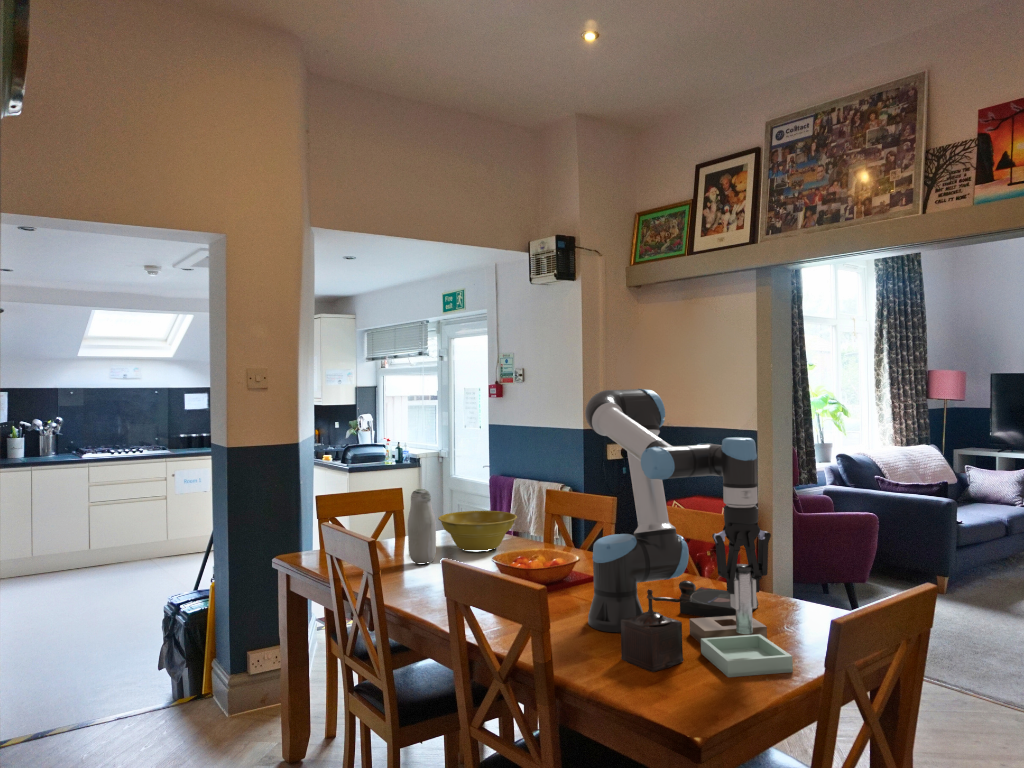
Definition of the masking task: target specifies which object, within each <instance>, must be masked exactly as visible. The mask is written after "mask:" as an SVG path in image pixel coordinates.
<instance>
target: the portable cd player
mask: <svg viewBox="0 0 1024 768" xmlns="http://www.w3.org/2000/svg"><path fill="white" fill-rule="evenodd" d="M691 600H692V601H691V602H689V601H687V602H685V603H684V602H679V613H680V614H683V615H684V614H685V615H689V616H690V615H691V616H696V617H700V618H707V617H721V616H736V609H734V608H733V607H731V597H730V594H729V593H728V592H727V590H724V589H717V588H709V587H703V586H702V587H701V586H700V587H699V588H696V590H695V592H694V593H693V594H692V595H691ZM756 601H757V608H758V607H759V605H760V604H759V600H758V596H757V595H756ZM757 608H752V612H754V610H756V609H757Z"/></svg>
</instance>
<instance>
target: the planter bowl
mask: <svg viewBox="0 0 1024 768" xmlns="http://www.w3.org/2000/svg"><path fill="white" fill-rule="evenodd" d="M517 519H518V516H517V514H514V513H511V512H506V511H498V510H465V511H456V512H455V511H454V512H449V513H445V514H442V515H440V516H438V521H440V522H441V525H442V527H443V529H444V531H445V532H447V533H449V534H450V537H451V539H452V540H453V542H454V544H455V545H456V547H457V548H458V549H460V550H461V549H464V550H488V549H494V548H496V549H497V548H499V546H500V545H502V541H504V538H505V535H506V533H507V532H509V531H511V529H512V527H513V525H514V523H515V520H517Z"/></svg>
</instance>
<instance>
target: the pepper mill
mask: <svg viewBox="0 0 1024 768" xmlns="http://www.w3.org/2000/svg"><path fill="white" fill-rule="evenodd" d="M678 588H679V590H680V593H681V594H680V596H679V598H675V597H674V598H673V597H668V596H667V597H666V596H665V597H664V596H658V597H656V596H653V590H652V589H650V588H649V589H647V591H646V593H647V595H646V599H647V600H648V609H647V611H643V613H642V614H640V615H638V616H634V617H630V618H627V619H623V620H621V632H620V645H621V647H620V651H621V652H620V653H621V654H620V655H621V657H620V659H621V660H622V661H623V662H626V663H628V664H631V665H633V666H636V667H637V668H640V669H643V670H645V671H648V672H651V673H655V672H657V671H663V670H665V669H668V668H671V667H673V666H676V665H679V664H681V663H683V662H684V657H683V654H684V653H683V650H684V649H683V648H684V647H683V623H682V621H679V620H677V619H674V618H671V617H667V616H664V615H663V614H661V613H660V612H657V611H654V609H653V601H656V602H671V603H680V602H684V603H685V602H687V601H689V602H691V601H692V600H691V595H692V594H693V593H694V592H695V591H696V590H697V587H696V584H695V583H694V582H693V581H690V580H682V581H680V582H679V584H678Z"/></svg>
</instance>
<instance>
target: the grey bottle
mask: <svg viewBox="0 0 1024 768" xmlns="http://www.w3.org/2000/svg"><path fill="white" fill-rule="evenodd" d="M407 536H408V537H407V538H408V539H407V541H408V542H407V543H408V544H407V545H408V554H409V557H410V559H411V561H412V562H413V563H414V562H415V563H414V564H416V563H427V562H430V563H432V562H433V561H434V559H435V557H436V554H437V553H436V552H437V523H436V516H435V512H434V510H433V505H432V498H431V493H430V492H429V491H428V490H427V489H423V488H418V489H417V488H416V489H415V490H413V491H412V492H411V495H410V509H409V513H408V519H407ZM431 561H432V562H431Z"/></svg>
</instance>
